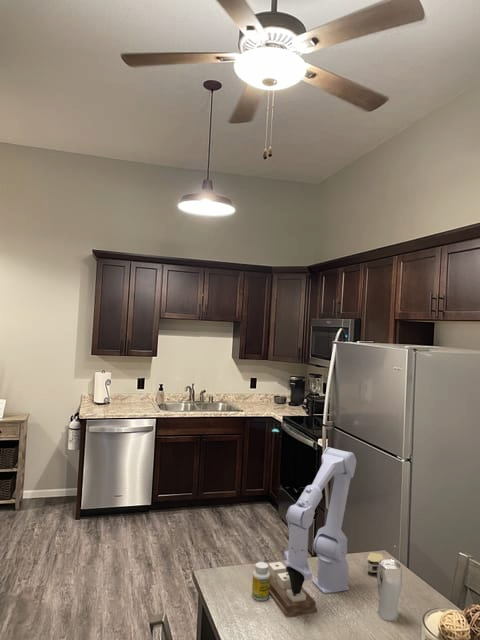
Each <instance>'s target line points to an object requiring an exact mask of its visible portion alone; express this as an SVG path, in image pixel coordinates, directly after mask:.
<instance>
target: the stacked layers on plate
mask: <svg viewBox="0 0 480 640" xmlns="http://www.w3.org/2000/svg"><path fill="white" fill-rule="evenodd" d="M381 559H385V558H384V556H383V554H382V553H375V552H369V554H368V556H367V561H366V564H367V567H366V571H368V572H370V573H376V576H377V575H378V565H379V560H381Z"/></svg>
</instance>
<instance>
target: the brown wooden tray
mask: <svg viewBox="0 0 480 640" xmlns="http://www.w3.org/2000/svg"><path fill="white" fill-rule="evenodd" d="M286 573H287V569H286ZM286 590H289V589H286ZM286 590H282V589H281V588H280V587H279V586H278V584H277V578H274V579H273V578H272V577H271V576H270V588H269V597H270V598H271V599H272V600H273V601H274V604H276V606H277V607H278V608H279V610H280V611H281V612H282V613H283V615H284V616H285V618H288V617H289V618H290V617H295V616H302V615H307V614H314V613H318V608H317V606H316V604H317V603H316V600H315V599H314V598H313V597H312V596H311V595H310V594H309V592H308V591H307V590H306V589H305V588H304V587H303V586H302V589H301V590H302V591H303V593H304V594H305V595H306V600H305V601H299V602H291V600H290V599H289V598H288V597H287V595H286Z"/></svg>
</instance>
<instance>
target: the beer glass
mask: <svg viewBox="0 0 480 640" xmlns="http://www.w3.org/2000/svg"><path fill="white" fill-rule="evenodd" d="M402 567H403V566H402V564H401V563H400V562H399V561H397V560H394V559H391V558H384V559H381V560H379V565H378V575H377V574H376V578H377V581H376V583H377V589H378V596H379V597H378V598H379V603H378V608H377V615H378V617H379V618H380V617H381V618H380V619H383V620H384V619H385V620H384V621H386V620H388V622H392V621H393V622H396V621H395V620H397V621H398V620H399V619H400V613H399V612H400V611H399V602H400V601H399V600H400V596H401V591H402V586H403V585H402V584H403V569H402Z"/></svg>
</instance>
